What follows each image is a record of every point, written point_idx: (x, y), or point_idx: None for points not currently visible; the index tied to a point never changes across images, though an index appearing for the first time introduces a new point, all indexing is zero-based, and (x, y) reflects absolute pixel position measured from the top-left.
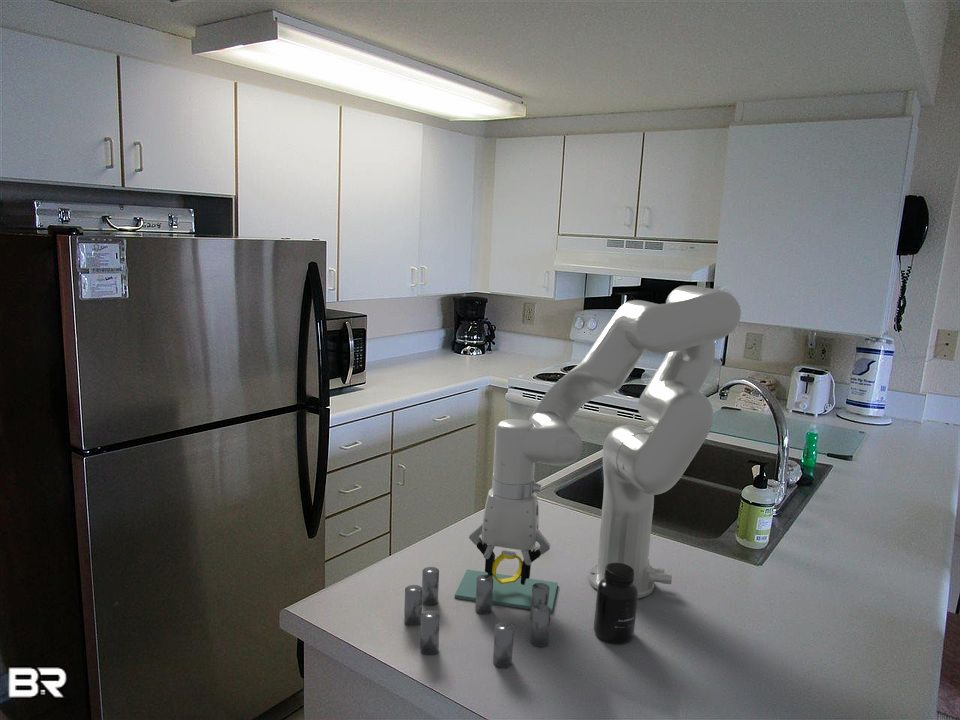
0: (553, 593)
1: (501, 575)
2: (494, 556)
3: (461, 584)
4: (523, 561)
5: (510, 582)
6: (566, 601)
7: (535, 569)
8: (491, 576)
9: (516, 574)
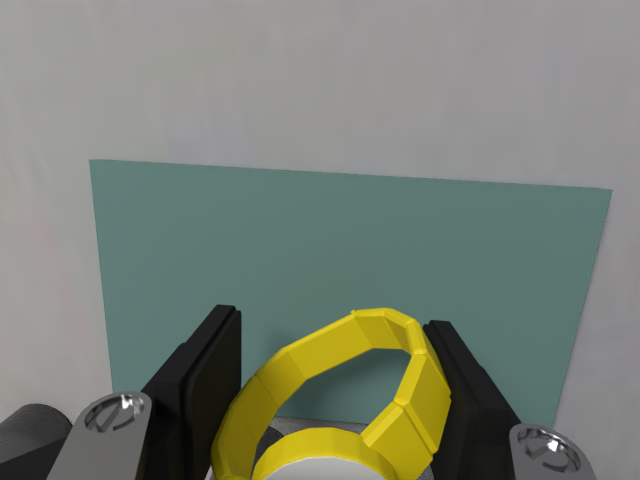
0: (572, 309)
1: (285, 183)
2: (196, 403)
3: (113, 317)
4: (463, 465)
5: (350, 357)
6: (623, 330)
7: (479, 16)
8: (236, 395)
9: (383, 325)
